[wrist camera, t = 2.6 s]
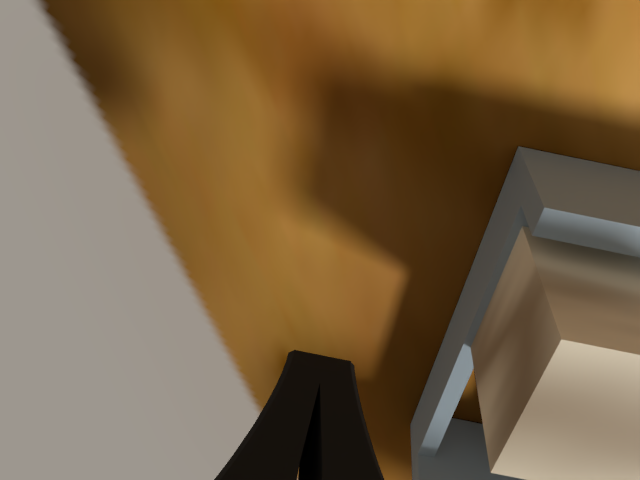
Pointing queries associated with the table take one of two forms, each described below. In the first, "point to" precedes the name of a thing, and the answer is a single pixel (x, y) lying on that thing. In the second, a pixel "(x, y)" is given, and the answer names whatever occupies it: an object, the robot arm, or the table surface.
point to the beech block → (561, 364)
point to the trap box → (499, 238)
